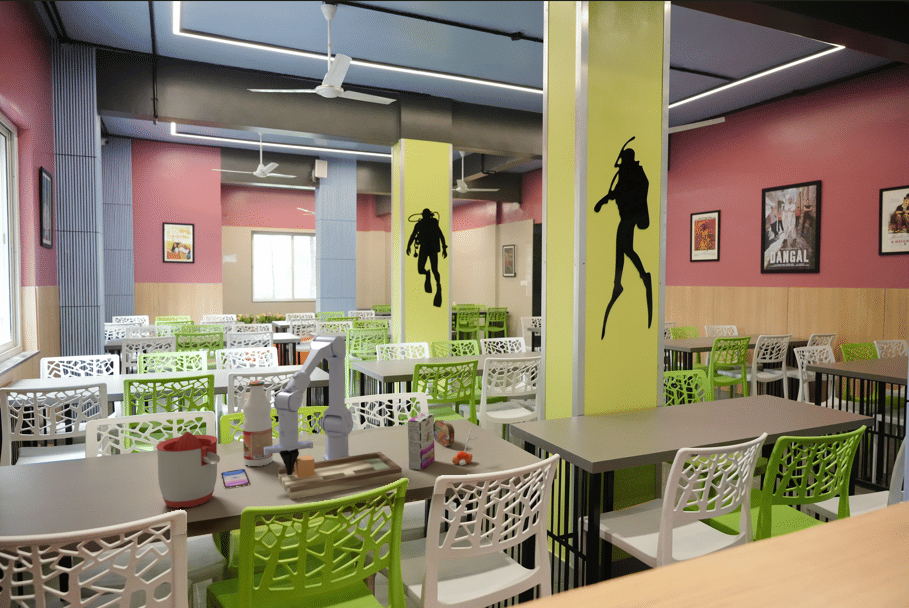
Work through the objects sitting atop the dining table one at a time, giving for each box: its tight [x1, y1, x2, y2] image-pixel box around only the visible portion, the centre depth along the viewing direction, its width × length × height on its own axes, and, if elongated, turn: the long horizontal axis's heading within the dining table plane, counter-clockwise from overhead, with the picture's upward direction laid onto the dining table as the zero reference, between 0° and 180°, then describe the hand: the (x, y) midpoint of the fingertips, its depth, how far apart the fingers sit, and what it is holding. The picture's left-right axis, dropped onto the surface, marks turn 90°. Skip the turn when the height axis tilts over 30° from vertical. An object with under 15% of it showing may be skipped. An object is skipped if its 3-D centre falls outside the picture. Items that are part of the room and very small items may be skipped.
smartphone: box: [220, 468, 251, 489], centre depth 174 cm, size 8×15×1 cm, turn 27°
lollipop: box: [451, 428, 478, 466], centre depth 188 cm, size 6×10×12 cm, turn 107°
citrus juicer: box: [155, 431, 221, 509], centre depth 156 cm, size 16×17×20 cm
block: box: [295, 454, 315, 478], centre depth 172 cm, size 5×5×5 cm
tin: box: [434, 419, 456, 448], centre depth 211 cm, size 15×3×8 cm, turn 25°
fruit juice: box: [242, 380, 274, 467], centre depth 189 cm, size 9×9×28 cm
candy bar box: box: [407, 412, 436, 471], centre depth 186 cm, size 11×5×16 cm, turn 159°
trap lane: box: [277, 451, 403, 500], centre depth 174 cm, size 19×34×4 cm, turn 118°
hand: (289, 474), depth 170 cm, fingers closed
